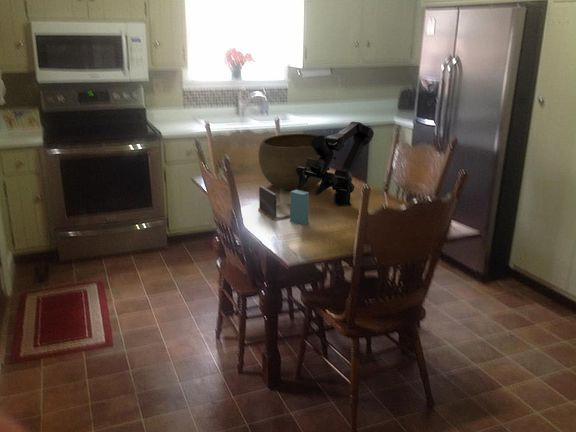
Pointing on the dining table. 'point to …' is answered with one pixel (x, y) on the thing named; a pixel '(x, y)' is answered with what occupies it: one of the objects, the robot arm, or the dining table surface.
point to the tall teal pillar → (299, 207)
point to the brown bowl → (287, 160)
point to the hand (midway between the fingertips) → (307, 192)
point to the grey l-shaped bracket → (272, 205)
